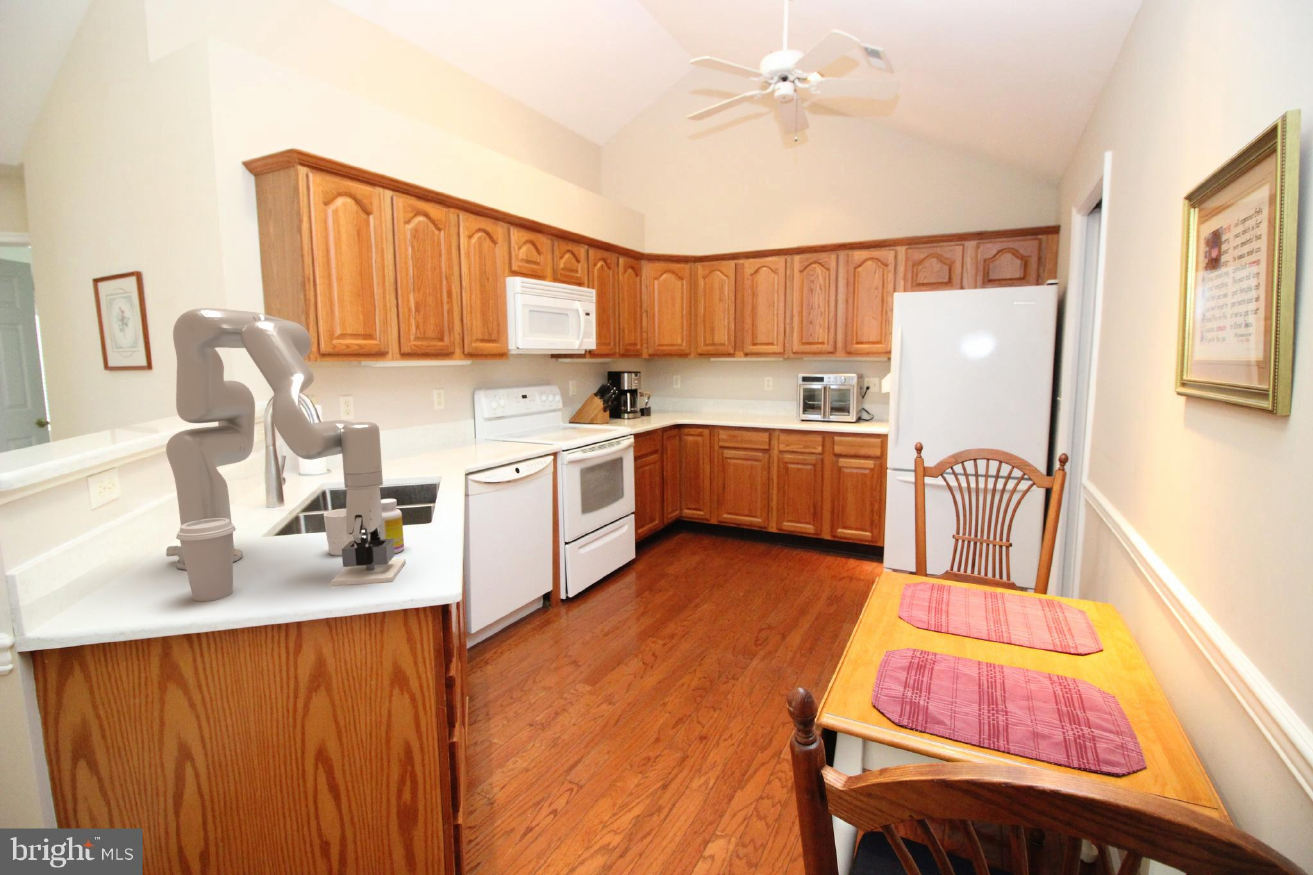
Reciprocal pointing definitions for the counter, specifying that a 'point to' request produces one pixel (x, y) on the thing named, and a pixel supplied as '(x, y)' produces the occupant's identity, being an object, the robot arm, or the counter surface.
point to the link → (380, 552)
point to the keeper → (369, 573)
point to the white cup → (336, 531)
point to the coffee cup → (208, 557)
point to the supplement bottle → (392, 524)
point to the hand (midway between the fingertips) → (369, 558)
